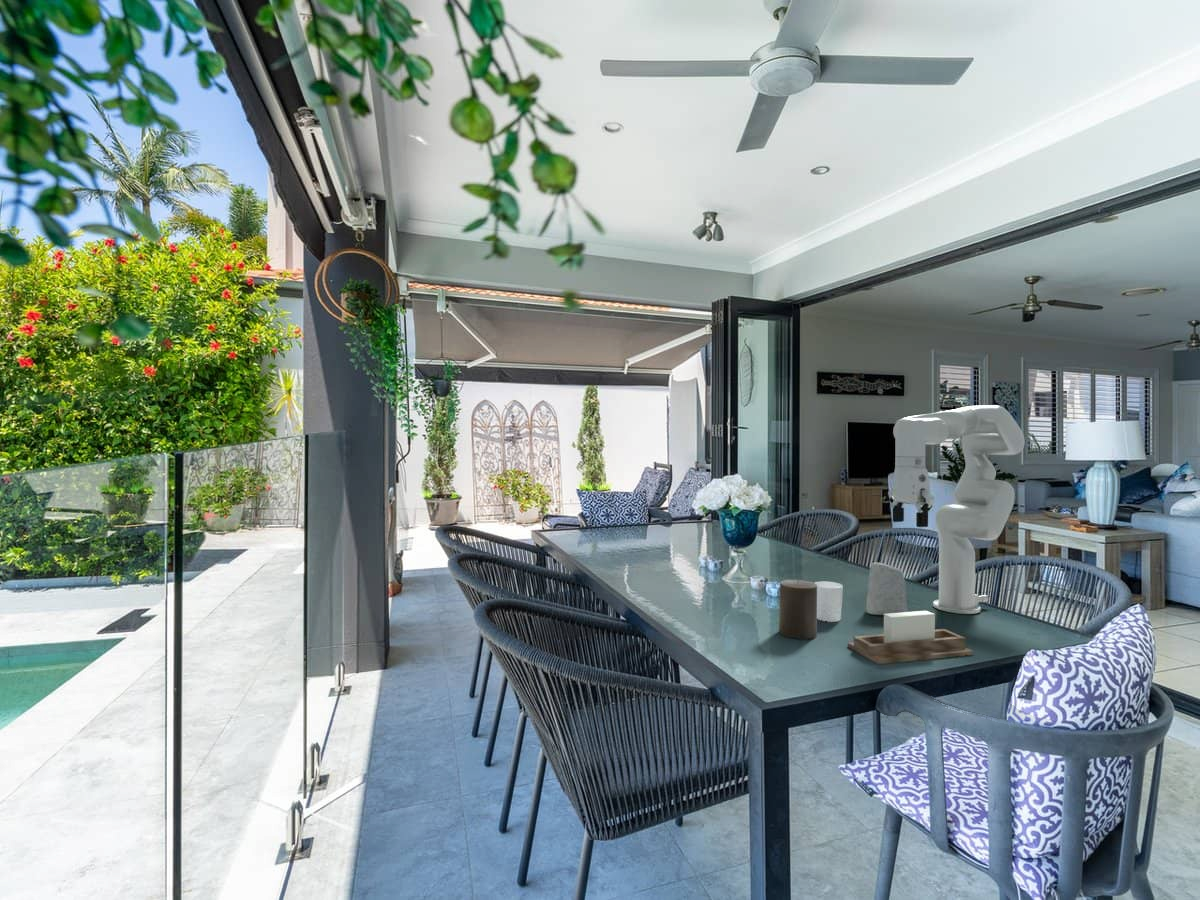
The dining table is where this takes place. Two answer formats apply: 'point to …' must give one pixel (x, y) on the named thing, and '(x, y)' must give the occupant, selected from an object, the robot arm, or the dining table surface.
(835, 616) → the white cup
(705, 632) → the dining table surface
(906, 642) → the track frame
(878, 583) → the decorative stone
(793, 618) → the pillar candle
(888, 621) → the white rectangular block
